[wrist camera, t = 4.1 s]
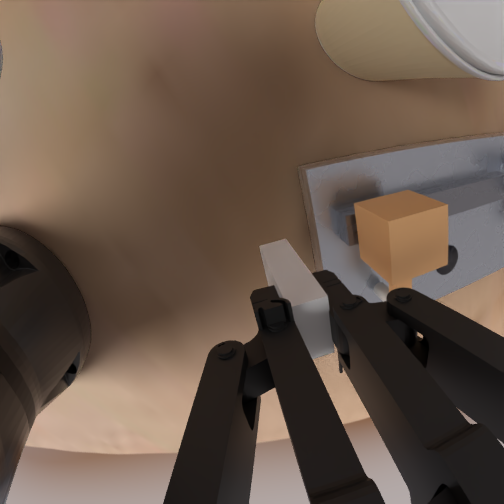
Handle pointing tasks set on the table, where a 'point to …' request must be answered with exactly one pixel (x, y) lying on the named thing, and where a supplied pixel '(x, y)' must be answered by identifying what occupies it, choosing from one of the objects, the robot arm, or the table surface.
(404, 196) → the block
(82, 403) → the table surface
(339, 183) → the plate
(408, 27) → the coffee cup
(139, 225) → the table surface
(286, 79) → the table surface
